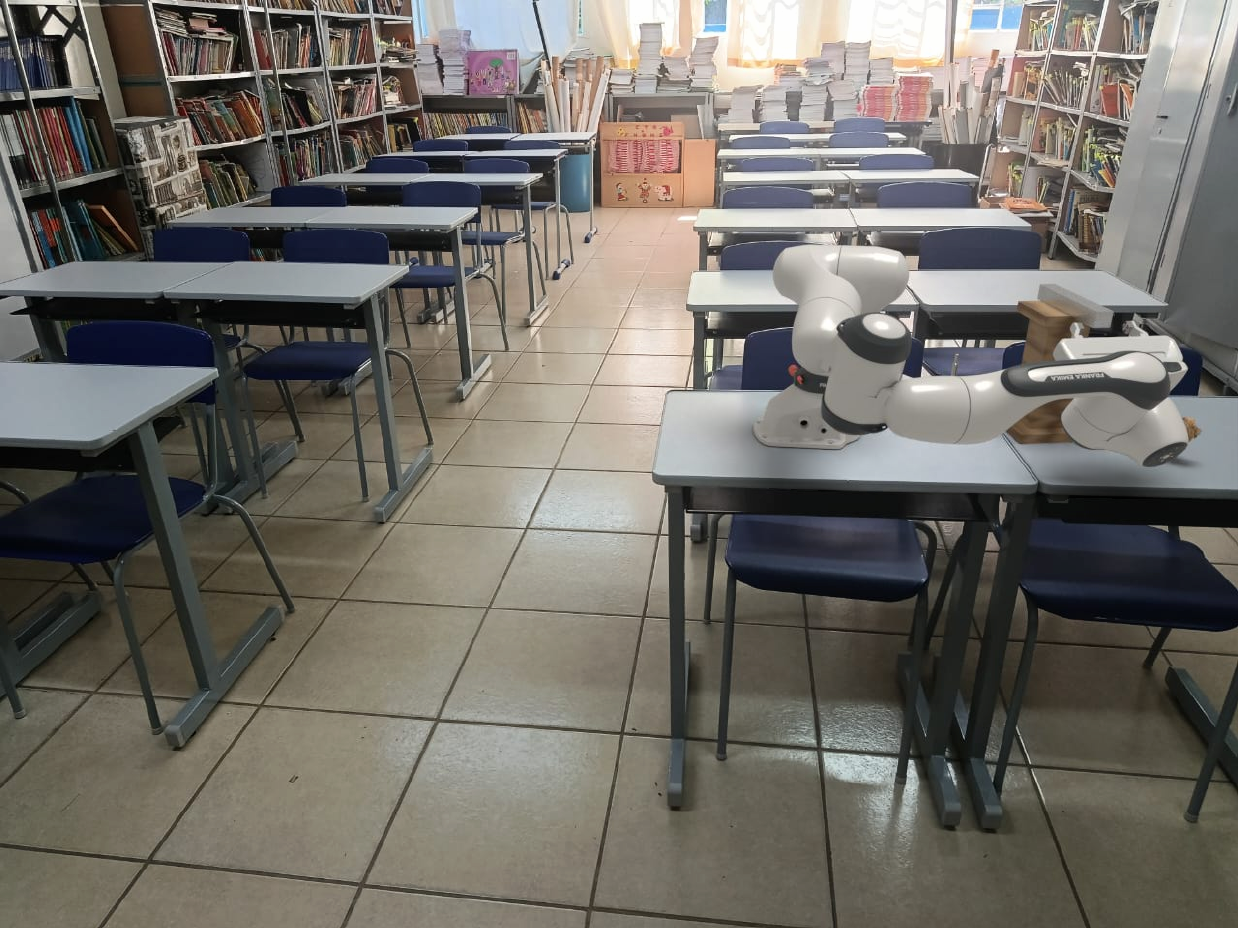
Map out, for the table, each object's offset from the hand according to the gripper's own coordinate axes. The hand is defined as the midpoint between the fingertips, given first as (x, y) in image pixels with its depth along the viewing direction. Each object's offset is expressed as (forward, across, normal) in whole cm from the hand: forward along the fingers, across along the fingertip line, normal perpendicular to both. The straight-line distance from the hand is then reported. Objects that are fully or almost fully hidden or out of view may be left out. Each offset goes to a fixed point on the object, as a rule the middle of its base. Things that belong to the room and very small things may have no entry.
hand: (1101, 324), depth 151 cm
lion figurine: (-13, +18, -23) cm, 32 cm away
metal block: (+8, 0, -5) cm, 10 cm away
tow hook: (+12, -12, -38) cm, 42 cm away
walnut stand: (-2, 0, -30) cm, 30 cm away
